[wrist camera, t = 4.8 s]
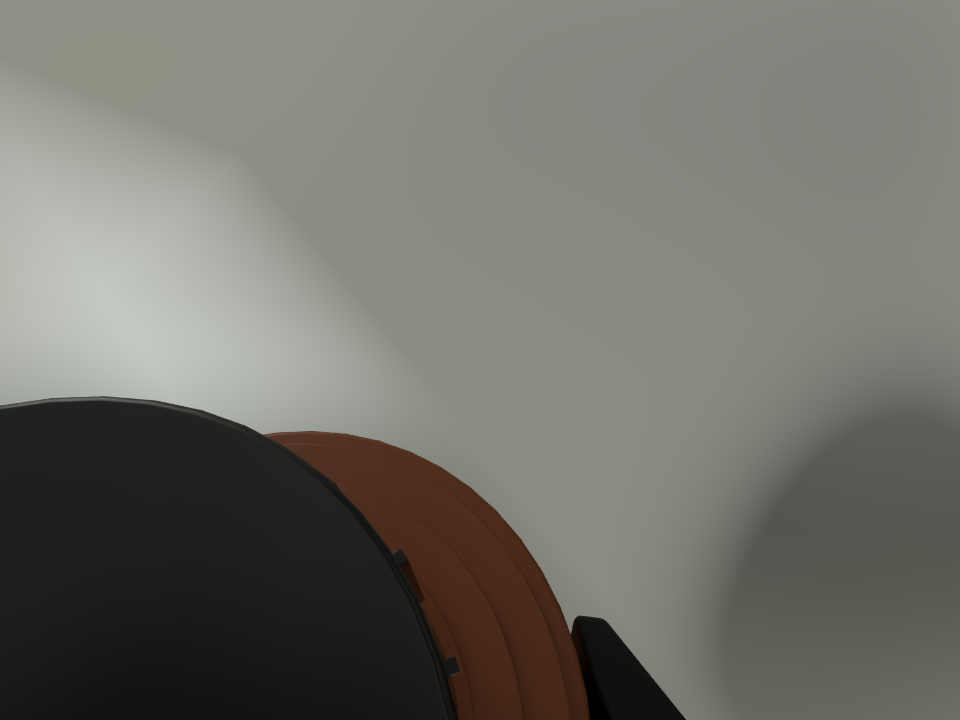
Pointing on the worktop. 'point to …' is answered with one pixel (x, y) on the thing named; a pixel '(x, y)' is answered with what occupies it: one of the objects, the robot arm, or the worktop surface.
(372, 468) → the sauce bottle
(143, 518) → the cap
